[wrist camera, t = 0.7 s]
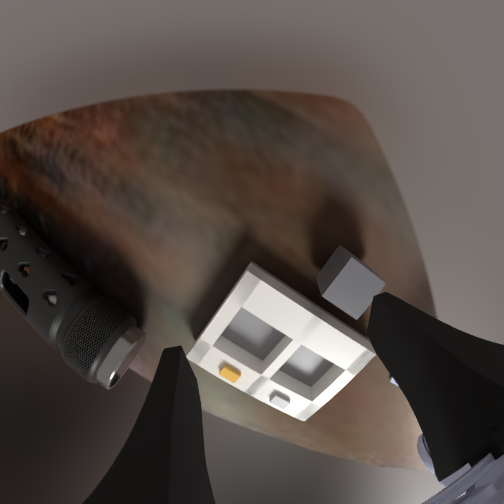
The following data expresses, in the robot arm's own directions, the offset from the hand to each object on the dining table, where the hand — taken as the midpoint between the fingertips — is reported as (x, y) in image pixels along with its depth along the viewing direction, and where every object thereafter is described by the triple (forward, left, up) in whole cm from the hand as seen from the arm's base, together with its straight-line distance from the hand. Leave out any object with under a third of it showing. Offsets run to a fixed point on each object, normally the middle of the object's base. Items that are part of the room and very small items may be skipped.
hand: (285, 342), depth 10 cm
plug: (-6, -1, -19) cm, 20 cm away
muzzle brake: (+21, +19, -19) cm, 34 cm away
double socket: (-6, +9, -19) cm, 22 cm away
